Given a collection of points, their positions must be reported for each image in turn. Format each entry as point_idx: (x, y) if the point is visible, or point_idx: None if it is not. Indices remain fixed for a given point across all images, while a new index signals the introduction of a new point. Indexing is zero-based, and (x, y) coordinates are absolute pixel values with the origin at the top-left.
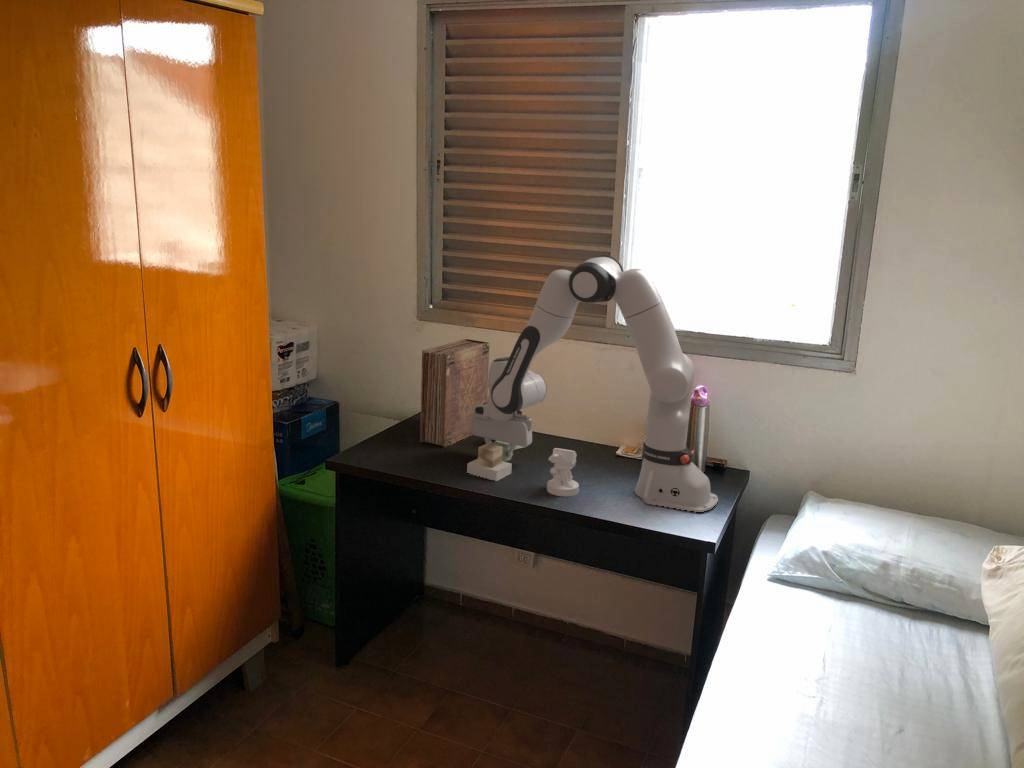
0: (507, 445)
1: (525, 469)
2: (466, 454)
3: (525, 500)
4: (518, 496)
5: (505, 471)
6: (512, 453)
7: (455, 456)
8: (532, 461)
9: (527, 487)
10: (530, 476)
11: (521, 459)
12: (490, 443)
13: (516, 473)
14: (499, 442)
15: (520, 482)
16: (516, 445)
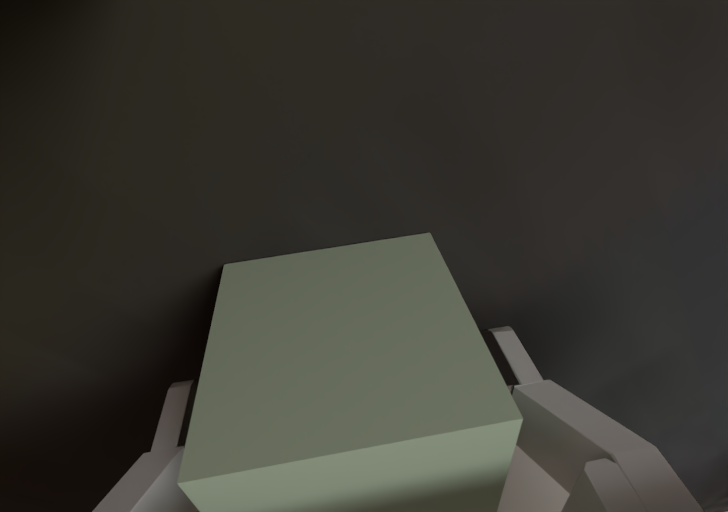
0: (500, 491)
1: (661, 319)
2: (3, 434)
3: (720, 505)
4: None
5: None
6: (524, 353)
7: (21, 496)
8: (703, 101)
9: (716, 454)
10: (720, 374)
11: (545, 147)
12: (161, 505)
13: (612, 399)
14: (309, 507)
15: (669, 447)
16: (660, 454)
